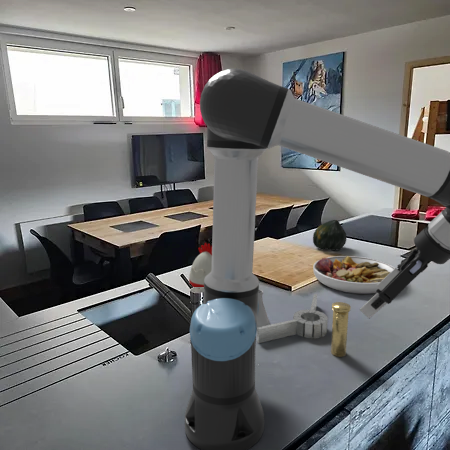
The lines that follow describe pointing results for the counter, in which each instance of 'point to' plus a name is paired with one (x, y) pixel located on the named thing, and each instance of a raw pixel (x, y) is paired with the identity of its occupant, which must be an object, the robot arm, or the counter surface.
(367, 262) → the bowl
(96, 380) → the counter surface
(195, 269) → the kitchen timer
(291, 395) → the counter surface
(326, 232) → the squash
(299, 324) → the hinge
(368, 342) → the counter surface
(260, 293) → the flask
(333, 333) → the hinge pin
